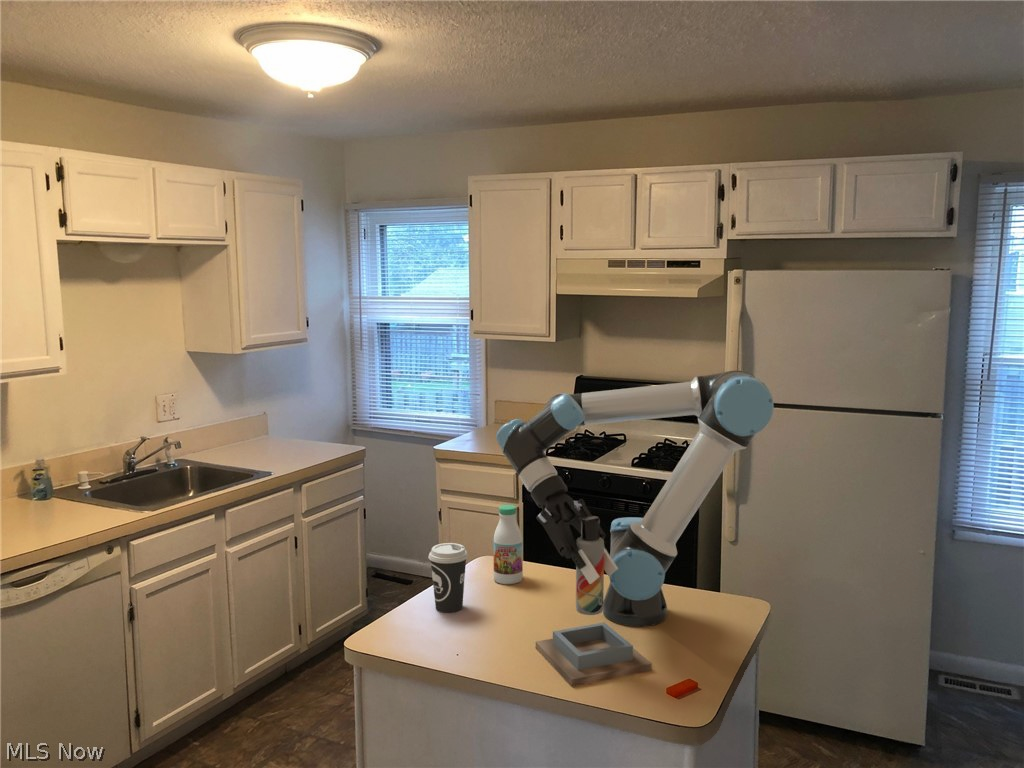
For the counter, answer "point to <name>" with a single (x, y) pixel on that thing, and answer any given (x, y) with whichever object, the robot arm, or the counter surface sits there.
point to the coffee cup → (448, 576)
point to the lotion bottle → (593, 547)
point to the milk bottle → (508, 548)
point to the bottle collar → (595, 658)
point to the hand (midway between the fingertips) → (604, 576)
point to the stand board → (591, 674)
